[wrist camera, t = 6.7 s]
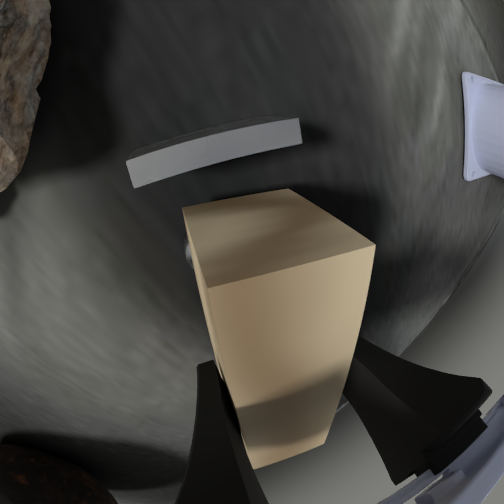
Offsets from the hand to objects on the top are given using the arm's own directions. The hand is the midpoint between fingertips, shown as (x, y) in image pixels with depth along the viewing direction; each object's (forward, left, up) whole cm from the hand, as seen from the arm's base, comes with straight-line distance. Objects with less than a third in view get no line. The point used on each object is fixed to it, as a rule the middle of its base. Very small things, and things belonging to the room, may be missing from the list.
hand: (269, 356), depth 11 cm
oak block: (0, 0, -2) cm, 2 cm away
